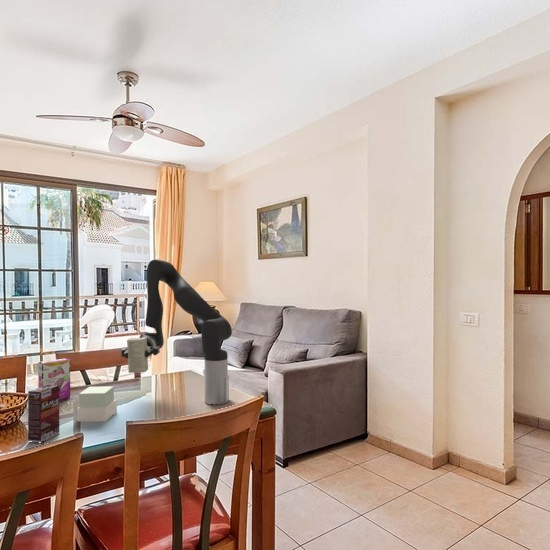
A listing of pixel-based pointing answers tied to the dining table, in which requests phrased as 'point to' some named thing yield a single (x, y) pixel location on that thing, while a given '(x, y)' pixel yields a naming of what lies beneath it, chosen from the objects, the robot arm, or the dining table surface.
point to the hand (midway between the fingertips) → (136, 354)
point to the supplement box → (43, 413)
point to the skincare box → (137, 355)
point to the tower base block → (97, 412)
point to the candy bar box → (55, 375)
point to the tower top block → (96, 397)
